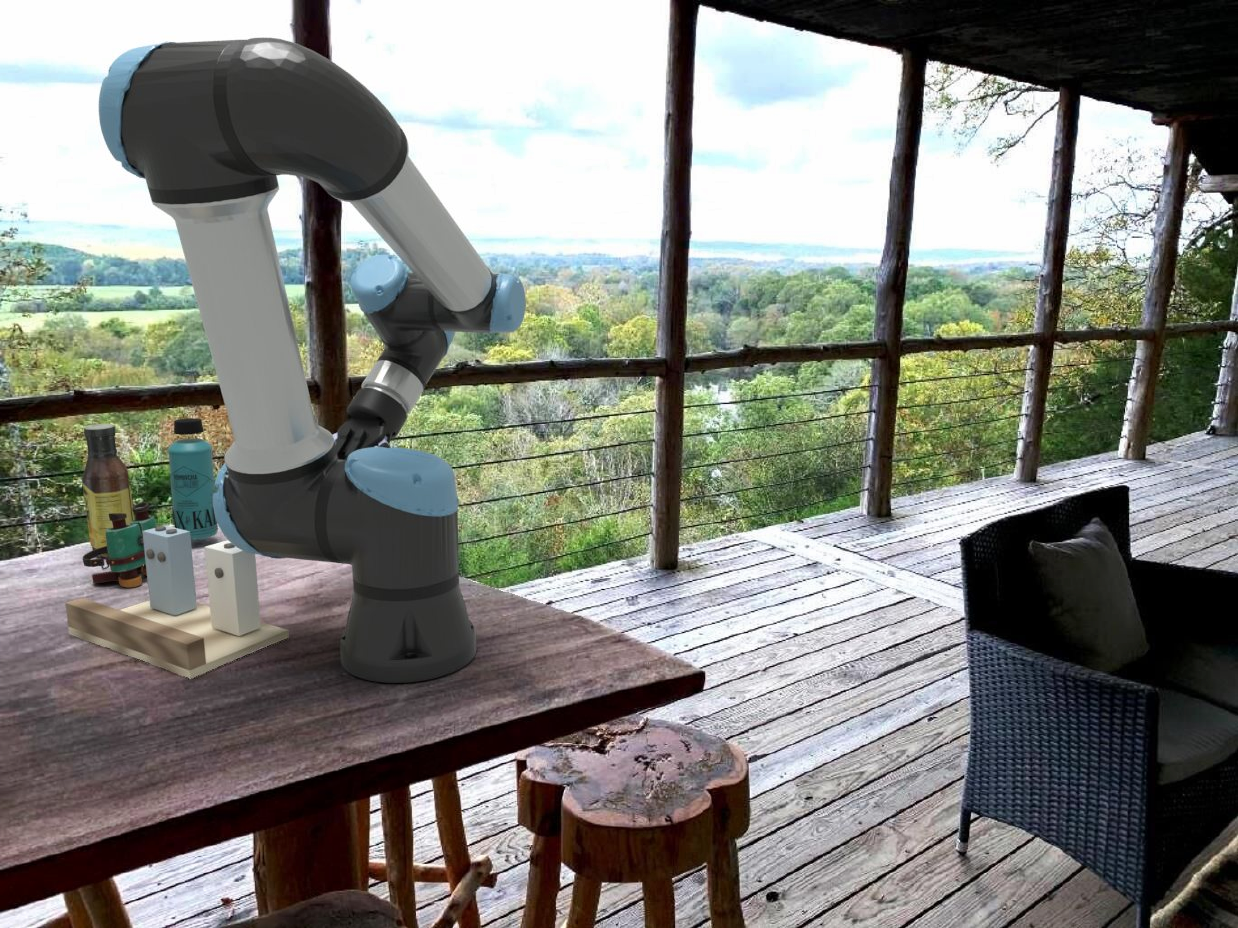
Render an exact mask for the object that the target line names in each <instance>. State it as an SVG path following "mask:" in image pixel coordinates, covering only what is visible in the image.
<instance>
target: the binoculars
mask: <svg viewBox="0 0 1238 928" xmlns="http://www.w3.org/2000/svg"><path fill="white" fill-rule="evenodd" d="M132 510H133V512H134V516H135V520H133V521H131V522H130V525H126V520H125V518H127V515H126V513H110V514H108V515H109V519H110V521H112V524H113V528H111V529H108V530H106V542H107V546H104V547H101V548H98V549H95V550H93V549H92V550H91V551H89V552H87V553H85V554H84V555H83V556H82V562H83V566H85V567H86V568H87V567H88V568H90V567H91V568H96V567H101V569H102V570H106V569H110V571H104V572H98V573H93V574H92V575H91V577H92V584H100V583H108V582H113V581H114V582H118V583H119V585H120V586H121V587H125V588H136V587H138V586H141V585H142V584H143V580H142V576H141V574H143V576H147V570H146V561H145V551H144V542H143V532H142V531H145V530H149V529H153V528H156V527H157V524H156V519H155V517H154V516H150V515H149V510H150V505H149V502H148V501H143V502H138V503H137V504H135V505H133V507H132ZM105 553H108V557H107V556H106V555H102V554H105ZM99 555H100V556H99ZM97 556H99V557H97ZM101 556H103V557H101ZM96 557H97V558H96ZM104 558H105V560H104ZM105 565H106V567H105ZM138 572H141V574H138Z"/></svg>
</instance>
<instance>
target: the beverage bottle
mask: <svg viewBox="0 0 1238 928" xmlns="http://www.w3.org/2000/svg"><path fill="white" fill-rule="evenodd" d="M173 423H174V424H173V427H174V428H173V433H174V435H179V436H180V435H182V436H183V435H187V436H188V435H196V434H197V435H198V434H201V433H204V427H203V421H202V419H201V418H194V417H192V418H191V417H188V418H181V419H179V418H178V419H176V420H174V422H173ZM212 451H213V446H212V445H211V444H210V442H208V441H206V440H204V439H202V438H184V439H178V440H175V441H173V442H172V444H170V445H169V446H168V448H167V452H168V461H169V474H170V475H169V477H168V478H169V483H170V488H171V489H170V490H169V491H170V495H171V500H170V501H171V505H172V508H171V510H172V512H171V513H172V521H173V522H172V523H173V526H172V527H174V528H178V529H182V530H186V531H190V538H191V541H194V540H201V539H206V538H210V537H213V536H215V535H217V533H218V530H219V525H218V523H217V520H216V517H215V513H214V508H213V494H214V493H216V486H215V485H214V484H215V476H214V473H215V472H214V463H213V452H212Z"/></svg>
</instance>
